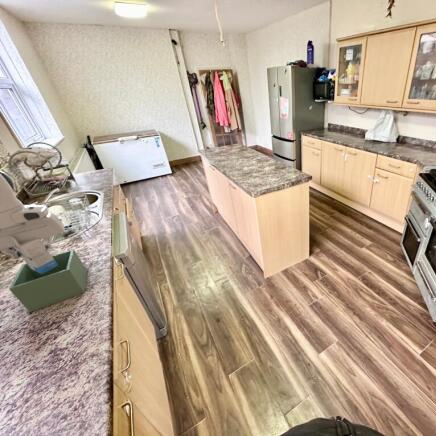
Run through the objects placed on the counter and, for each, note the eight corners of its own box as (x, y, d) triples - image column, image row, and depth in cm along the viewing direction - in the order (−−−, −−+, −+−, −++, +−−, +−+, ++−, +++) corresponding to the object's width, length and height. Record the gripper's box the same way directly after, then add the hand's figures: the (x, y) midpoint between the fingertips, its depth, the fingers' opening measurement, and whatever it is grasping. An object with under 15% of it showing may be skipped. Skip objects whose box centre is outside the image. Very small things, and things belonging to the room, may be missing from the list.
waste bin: (29, 312, 78) (8, 289, 72) (39, 286, 88) (22, 264, 83) (84, 292, 85) (68, 269, 79) (87, 270, 95) (73, 249, 90)
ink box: (59, 265, 82) (34, 230, 74) (41, 275, 78) (13, 238, 71) (47, 260, 85) (22, 225, 78) (30, 268, 81) (2, 233, 74)
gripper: (-49, 232, 64) (-15, 270, 71) (48, 210, 74) (71, 246, 81) (-38, 223, 69) (-7, 260, 76) (52, 204, 78) (73, 238, 85)
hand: (34, 252), depth 78 cm, fingers closed on ink box, 7 cm apart
